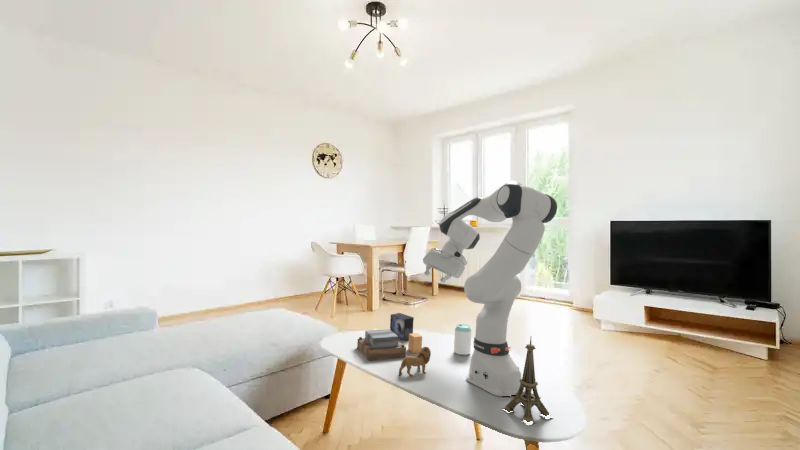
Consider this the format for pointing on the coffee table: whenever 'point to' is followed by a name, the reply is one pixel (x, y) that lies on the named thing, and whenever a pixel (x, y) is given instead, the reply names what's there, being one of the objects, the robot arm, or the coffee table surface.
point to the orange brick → (415, 343)
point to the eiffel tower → (528, 389)
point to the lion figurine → (416, 361)
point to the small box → (401, 325)
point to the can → (462, 339)
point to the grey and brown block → (381, 345)
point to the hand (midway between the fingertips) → (433, 278)
